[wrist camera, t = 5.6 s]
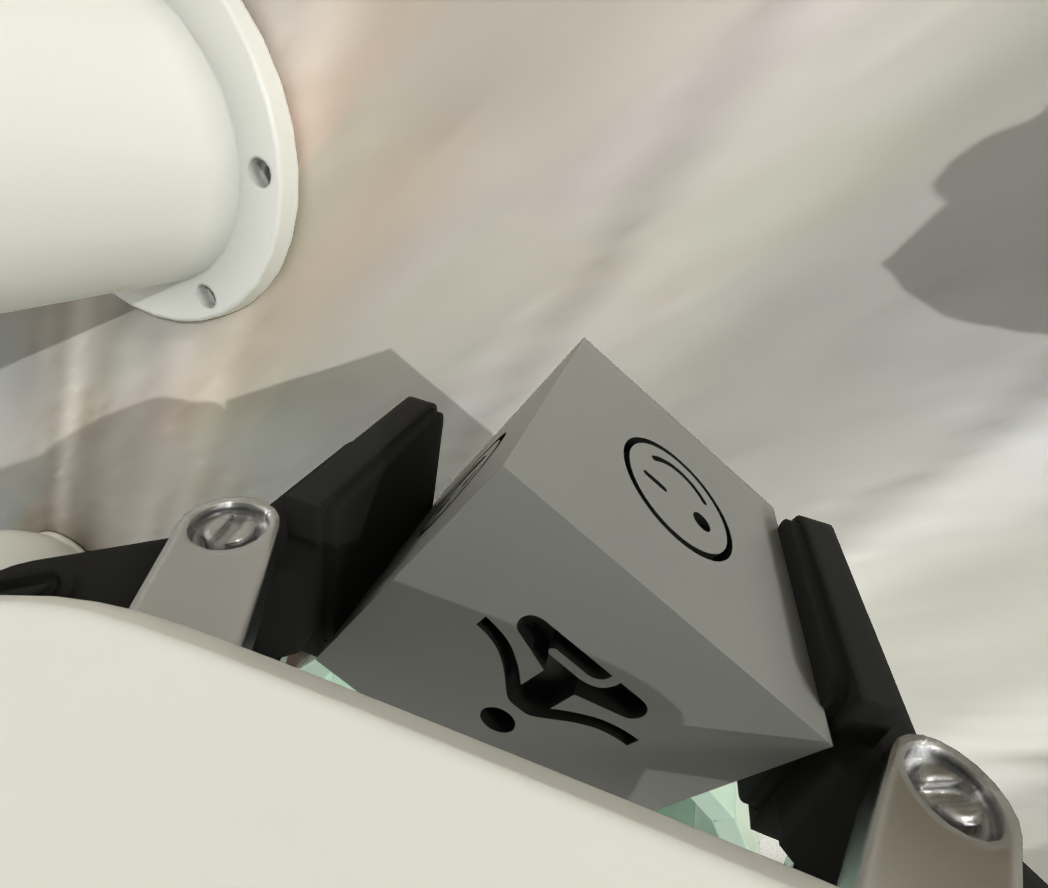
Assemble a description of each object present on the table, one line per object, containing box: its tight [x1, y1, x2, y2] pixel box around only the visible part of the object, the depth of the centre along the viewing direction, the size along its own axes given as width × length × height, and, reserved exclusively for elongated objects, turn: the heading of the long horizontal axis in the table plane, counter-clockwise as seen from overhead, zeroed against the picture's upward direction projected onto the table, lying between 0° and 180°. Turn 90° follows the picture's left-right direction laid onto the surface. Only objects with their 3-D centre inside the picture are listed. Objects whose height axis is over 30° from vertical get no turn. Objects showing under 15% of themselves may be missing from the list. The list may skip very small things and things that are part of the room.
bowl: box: [298, 655, 761, 855], centre depth 23 cm, size 20×20×6 cm
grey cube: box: [315, 338, 833, 811], centre depth 9 cm, size 5×5×5 cm
